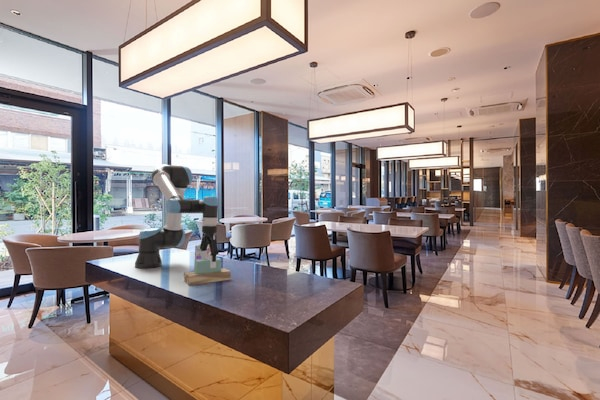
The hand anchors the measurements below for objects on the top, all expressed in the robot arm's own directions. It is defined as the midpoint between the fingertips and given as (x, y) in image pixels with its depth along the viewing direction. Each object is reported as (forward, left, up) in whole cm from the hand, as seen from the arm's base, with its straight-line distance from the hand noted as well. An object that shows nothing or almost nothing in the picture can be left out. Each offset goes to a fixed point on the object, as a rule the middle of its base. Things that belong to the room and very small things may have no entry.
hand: (208, 265), depth 158 cm
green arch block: (0, 0, -7) cm, 7 cm away
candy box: (-21, +5, -8) cm, 23 cm away
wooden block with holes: (0, 0, -8) cm, 8 cm away
